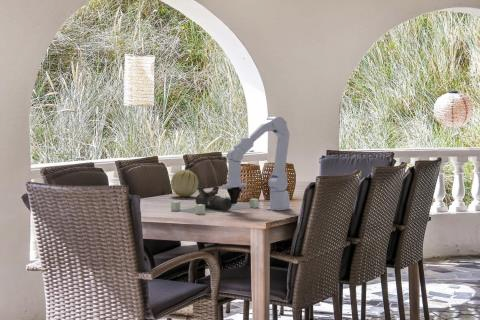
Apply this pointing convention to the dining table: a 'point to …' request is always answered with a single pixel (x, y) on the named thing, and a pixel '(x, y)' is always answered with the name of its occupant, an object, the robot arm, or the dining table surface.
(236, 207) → the bay
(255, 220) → the dining table surface
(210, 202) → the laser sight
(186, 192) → the cantaloupe
